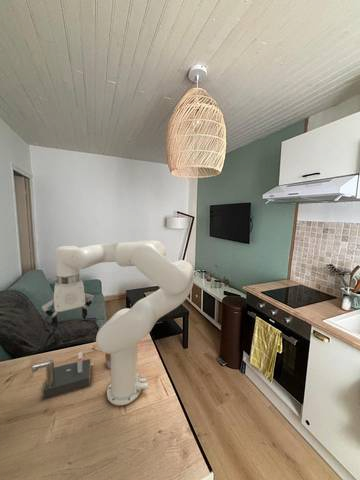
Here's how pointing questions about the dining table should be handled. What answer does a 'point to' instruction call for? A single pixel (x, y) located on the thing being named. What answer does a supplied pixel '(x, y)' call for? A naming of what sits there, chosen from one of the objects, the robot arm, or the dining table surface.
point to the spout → (49, 370)
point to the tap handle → (80, 362)
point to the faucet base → (68, 379)
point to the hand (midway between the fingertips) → (70, 321)
